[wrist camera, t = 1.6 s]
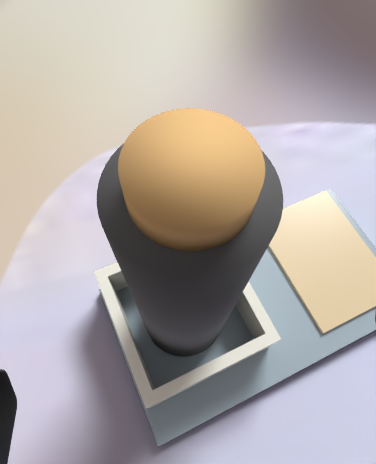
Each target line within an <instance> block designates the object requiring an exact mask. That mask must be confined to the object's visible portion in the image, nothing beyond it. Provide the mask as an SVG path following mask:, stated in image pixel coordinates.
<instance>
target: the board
mask: <svg viewBox="0 0 376 464" xmlns="http://www.w3.org/2000/svg"><path fill="white" fill-rule="evenodd" d="M94 273H95V276H96V278H97V281H98V284H99V286H100V289H99V291H100V294H101V296H102V299H103V302H104V304H105V307H106V310H107V312H108V315H109V318H110V320H111V323H112V326H113V328H114V331H115V334H116V336H117V339H118V342H119V344H120V347H121V350H122V352H123V355H124V357H125V360H126V363H127V365H128V368H129V371H130V373H131V376H132V379H133V381H134V384H135V387H136V389H137V392H138V395H139V397H140V400H141V403H142V405H143V408H144V411H145V413H146V416H147V419H148V421H149V424H150V427H151V429H152V432H153V435H154V437H155V440H156V443H157V445H158V447H159V446H161V445H163V444H165V443H167V442H168V441H170V440H172V439H174V438H176V437H178V436H180V435H181V434H183V433H185V432H187V431H189V430H191V429H193V428H194V427H196V426H198V425H200V424H202V423H204V422H206V421H207V420H209V419H211V418H213V417H215V416H217V415H219V414H220V413H222V412H224V411H226V410H228V409H230V408H232V407H233V406H235V405H237V404H239V403H241V402H243V401H244V400H246V399H248V398H250V397H252V396H254V395H256V394H257V393H259V392H261V391H263V390H265V389H267V388H269V387H270V386H272V385H274V384H276V383H278V382H280V381H282V380H283V379H285V378H287V377H289V376H291V375H293V374H295V373H296V372H298V371H300V370H302V369H304V368H306V367H308V366H309V365H311V364H313V363H315V362H317V361H319V360H321V359H322V358H324V357H326V356H328V355H330V354H332V353H334V352H335V351H337V350H339V349H341V348H343V347H345V346H347V345H348V344H350V343H352V342H354V341H356V340H358V339H360V338H361V337H363V336H365V335H367V334H369V333H371V332H373V331H374V330H376V323H375V313H376V248H375V246H374V245H373V244H372V242H371V241H370V240H369V238H368V237H367V236H366V234H365V233H364V232H363V230H362V229H361V228H360V226H359V225H358V224H357V222H356V221H355V220H354V218H353V217H352V216H351V214H350V213H349V212H348V210H347V209H346V208H345V206H344V205H343V204H342V202H341V201H340V200H339V198H338V197H337V196H336V194H335V193H334V192H333V190H332V189H331V190H329V191H323V192H321V193H319V194H316V195H314V196H312V197H310V198H307V199H305V200H303V201H300V202H298V203H296V204H293V205H291V206H289V207H286V208H284V209H283V211H282V216H281V221H280V224H279V226H278V229H277V231H276V233H275V235H274V237H273V239H272V240H271V242H270V244H269V246H268V248H267V249H266V251H265V253H264V255H263V257H262V258H261V260H260V262H259V264H258V265H257V267H256V269H255V271H254V273H253V274H252V276H251V278H250V280H249V282H248V283H247V285H246V287H245V289H244V290H243V292H242V294H241V296H240V298H239V299H238V301H237V303H236V305H235V307H234V308H233V310H232V312H231V314H230V315H229V317H228V319H227V321H226V323H225V324H224V326H223V328H222V330H221V332H220V333H219V335H218V337H217V339H216V340H215V341H214V343H213V344H212V345H211V346H210V347H209V348H207V349H206V350H205V351H203V352H201V353H199V354H197V355H193V356H187V357H180V356H174V355H171V354H169V353H166V352H164V351H163V350H161V349H160V348H159V347H158V346H157V345H156V344H155V343H154V342H153V341H152V339H151V338H150V336H149V334H148V332H147V329H146V327H145V325H144V322H143V320H142V318H141V315H140V313H139V311H138V308H137V306H136V304H135V301H134V299H133V297H132V294H131V292H130V290H129V287H128V285H127V283H126V280H125V278H124V276H123V274H122V271H121V269H120V267H119V264H118V262H116V263H113V264H111V265H108V266H106V267H104V268H101V269H99V270H96V271H94Z"/></svg>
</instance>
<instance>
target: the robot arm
mask: <svg viewBox="0 0 376 464" xmlns="http://www.w3.org/2000/svg"><path fill="white" fill-rule="evenodd" d="M375 323H376V313H375ZM16 410H17V399H16V395H15V392H14V390H13V387H12V385H11V382H10V379H9V377H8V374H7V373H6V371H5V370H2V369H0V464H7V463H8V457H9V451H10V445H11V439H12V433H13V427H14V421H15V416H16Z"/></svg>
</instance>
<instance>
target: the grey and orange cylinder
mask: <svg viewBox="0 0 376 464" xmlns="http://www.w3.org/2000/svg"><path fill="white" fill-rule="evenodd" d="M97 209H98V215H99V218H100V221H101V224H102V227H103V229H104V232H105V234H106V236H107V239H108V241H109V243H110V246H111V248H112V250H113V253H114V255H115V257H116V260H117V262H118V264H119V267H120V269H121V271H122V274H123V276H124V278H125V280H126V283H127V285H128V287H129V290H130V292H131V294H132V297H133V299H134V301H135V304H136V306H137V308H138V311H139V313H140V315H141V318H142V320H143V322H144V325H145V327H146V329H147V332H148V334H149V336H150V338H151V339H152V341H153V342H154V343H155V344H156V345H157V346H158V347H159V348H160V349H161V350H163V351H164V352H166V353H169V354H171V355H174V356H180V357H187V356H193V355H197V354H199V353H201V352H203V351H205V350H206V349H207V348H209V347H210V346H211V345H212V344H213V343H214V341H215V340H216V339H217V337H218V335H219V333H220V332H221V330H222V328H223V326H224V324H225V323H226V321H227V319H228V317H229V315H230V314H231V312H232V310H233V308H234V307H235V305H236V303H237V301H238V299H239V298H240V296H241V294H242V292H243V290H244V289H245V287H246V285H247V283H248V282H249V280H250V278H251V276H252V274H253V273H254V271H255V269H256V267H257V265H258V264H259V262H260V260H261V258H262V257H263V255H264V253H265V251H266V249H267V248H268V246H269V244H270V242H271V240H272V239H273V237H274V235H275V233H276V231H277V229H278V226H279V224H280V221H281V216H282V211H283V193H282V187H281V183H280V180H279V177H278V175H277V172H276V170H275V168H274V166H273V165H272V163H271V161H270V160H269V159H268V157H267V156H266V155H265V154H264V152H263V151H262V150H261V149H260V146H259V145H258V143H257V141H256V140H255V138H254V137H253V136H252V135H251V133H250V132H249V131H247V130H246V129H245V128H244V127H243V126H242V125H240V124H239V123H238V122H236V121H235V120H233V119H231V118H229V117H227V116H225V115H223V114H219V113H217V112H213V111H209V110H204V109H195V108H186V109H176V110H171V111H167V112H163V113H161V114H158V115H156V116H153V117H151V118H150V119H148V120H146V121H145V122H143V123H142V124H140V125H139V126H138V127H137V128H136V129H135V130H134V131H133V132H132V133H131V134H130V135H129V137H128V138H127V140H126V141H125V143H124V144H123V145H121V146H120V147H119V148H118V149H117V150H116V152H115V153H114V154H113V155H112V156H111V158H110V159H109V161H108V162H107V164H106V166H105V168H104V170H103V172H102V174H101V177H100V180H99V184H98V190H97Z"/></svg>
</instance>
